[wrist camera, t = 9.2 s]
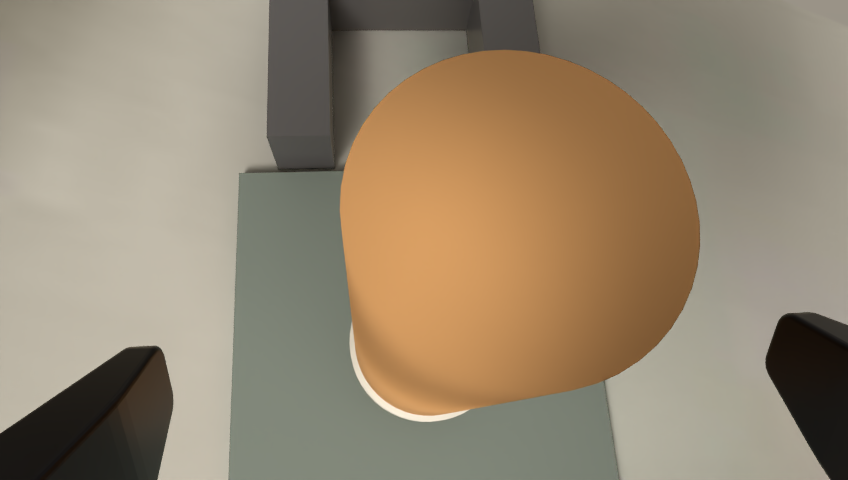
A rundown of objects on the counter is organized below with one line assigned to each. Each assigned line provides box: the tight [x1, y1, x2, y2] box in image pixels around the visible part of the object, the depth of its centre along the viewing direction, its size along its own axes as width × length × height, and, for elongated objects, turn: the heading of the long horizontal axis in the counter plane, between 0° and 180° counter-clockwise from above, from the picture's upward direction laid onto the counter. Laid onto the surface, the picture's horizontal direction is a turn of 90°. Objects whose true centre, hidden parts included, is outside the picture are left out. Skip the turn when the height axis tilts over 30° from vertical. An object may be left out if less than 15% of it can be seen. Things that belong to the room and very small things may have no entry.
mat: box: [229, 171, 619, 480], centre depth 19 cm, size 14×12×1 cm
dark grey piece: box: [267, 0, 540, 170], centre depth 21 cm, size 8×9×2 cm
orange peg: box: [340, 50, 700, 422], centre depth 13 cm, size 4×4×13 cm
